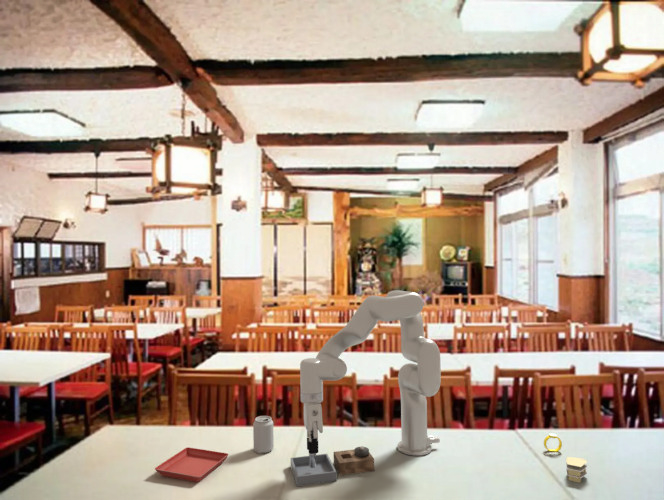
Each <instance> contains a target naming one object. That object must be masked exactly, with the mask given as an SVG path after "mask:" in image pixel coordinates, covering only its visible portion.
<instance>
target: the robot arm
mask: <svg viewBox="0 0 664 500" xmlns="http://www.w3.org/2000/svg"><path fill="white" fill-rule="evenodd" d="M423 309H424V299H423V297H422V296H421V295H420V294H418V293H417V292H415V291H405V290H399V289H398V290H395V289H394V290H391V291H389V292H387V294H386V296H382V295H381V296H380V295H369V296H367V297H365V299H364V300H363V301H362V303H361V304H360V305H359V307H358V308H357V309H356V311H355V313H354V314H353V315H352V316H351V318H350V320H349V321H348V322H347V324H346V325H345V326H344V327H343V328H342V329H340V330H338V332H336V333H335V334H334V335H332V336H331V337H330V338H329V339H328V340H327V341H325V344H324V345H323V346H322V347H321V349H320V350H319V351H318V353H317V355H316V357H315V358H314V357H310V358H305V359H302V360H301V361H300V364H299V375H300V377H299V378H300V379H299V381H300V386H299V387H300V403H302V404H303V424H304V428H305V429H306V449H307V450H308V455H309V454H314V453H316V454H318V453H319V434H323V432H324V426H323V425H324V424H323V411H322V410H323V409H322V404H321V403H322V402H324V384H323V383H324V381H330V382H331V381H333V382H334V381H340V380H341V379H343V378H344V377H345V376H346V374H347V372H348V366H347V365H346V362H345V361H344V360H343V359H341V358H339V357H340V356H341V355H342V354H343V353H344V352H345V351H346V350H348V349H349V348H351V347H353V346H356V345H360V344H361V343H364V342H365V341H366V340H367V338H369V336H370V335H371V333H372V331H373V330H374V329H375V327H376V326H377V324H378V323H379V322H385V323H386V322H387V323H388V322H394V321H395V322H396V321H399V324H400V347H401V348H400V351H401V355H402V356H403V358H404V359H406V360H408V361H410V362H411V363H409V362H408V363H405V364H403V365H402V366H401V367H400V368H399V371H398V374H397V381H398V386H399V387H398V388H399V392H400V414H401V415H400V422H401V425H400V427H401V431H400V432H401V433H400V434H401V441H399V442H398V443H397V450H398V451H399V452H400V453H402V454H404V455H407V456H414V457H416V456H421V457H422V456H425V455H427V454H430V453H431V452H432V444H438V443H440V437H439V436H436V437H434V435H428V409H427V408H428V406H427V405H428V402H427V397H428V398H429V397H430V398H431V397H433V396H435V395H437V393H438V392H439V390H440V386H441V383H442V382H441V377H442V375H441V373H442V372H441V352H440V351H441V350H440V348H439V346H438V344H437V343H436V342H435V341H434V340H432V339H430V338H426V337H425V330H424V328H425V327H424V320H423V317H422V316H423V315H422V314H421V312H422V311H423ZM311 435H313V436H312V437H311Z"/></svg>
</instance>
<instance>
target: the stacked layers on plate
mask: <svg viewBox="0 0 664 500" xmlns="http://www.w3.org/2000/svg"><path fill="white" fill-rule="evenodd" d="M565 461H566V470H565V471H566V475H567V476H568V481H571V482H576V483H581V480H582V478H584V477H585V476H586V475H587V474H588V471H587V467H588V464H587V462H588V461H587V460H586V459H585V458H582V457H574V456H573V457H571V456H568V457H566V460H565Z"/></svg>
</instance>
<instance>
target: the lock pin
mask: <svg viewBox="0 0 664 500" xmlns="http://www.w3.org/2000/svg"><path fill="white" fill-rule="evenodd" d="M312 436H313V435H311V437H312ZM316 455H317V453H314V454H309V453H308V456H309V467H311V468H315V467H316Z"/></svg>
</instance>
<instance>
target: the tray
mask: <svg viewBox="0 0 664 500" xmlns="http://www.w3.org/2000/svg"><path fill="white" fill-rule="evenodd" d="M290 469H291V472H292V475H293V476H292V477H294V481H295V485H296V487H302V486H311V485H318V484H323V483H324V484H325V483H332V482H337V481H338V479H337V478H338V477H337V472H338V471H337V469H336V467H335V465H334V463H333V462H332V460H331V458H330V456H329V454H328V453H320V454H316V467H315V468H311V467H309V455H303V456H296V457H290Z"/></svg>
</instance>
